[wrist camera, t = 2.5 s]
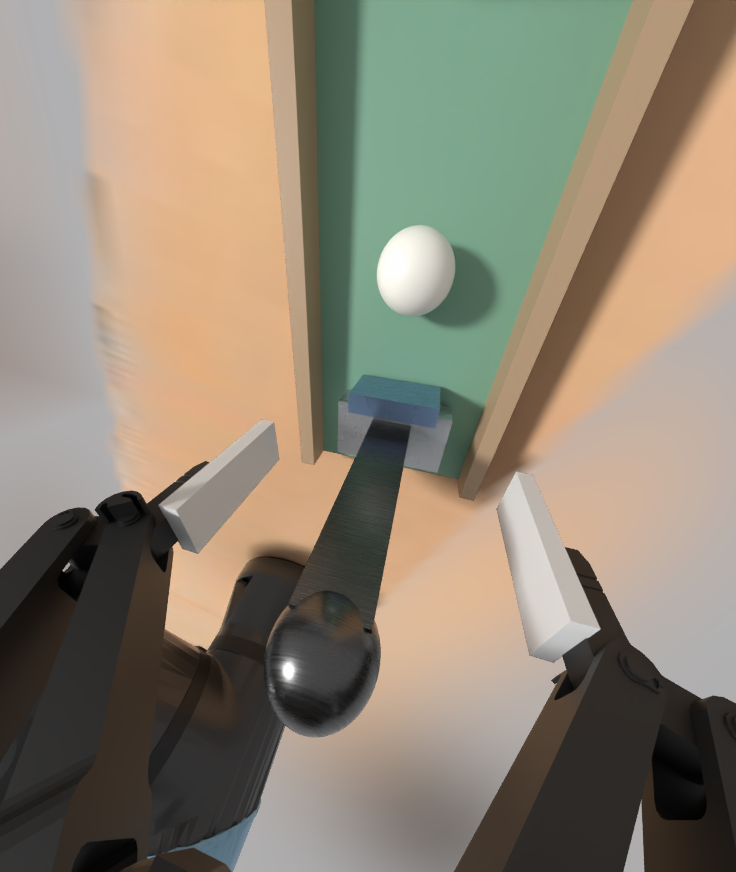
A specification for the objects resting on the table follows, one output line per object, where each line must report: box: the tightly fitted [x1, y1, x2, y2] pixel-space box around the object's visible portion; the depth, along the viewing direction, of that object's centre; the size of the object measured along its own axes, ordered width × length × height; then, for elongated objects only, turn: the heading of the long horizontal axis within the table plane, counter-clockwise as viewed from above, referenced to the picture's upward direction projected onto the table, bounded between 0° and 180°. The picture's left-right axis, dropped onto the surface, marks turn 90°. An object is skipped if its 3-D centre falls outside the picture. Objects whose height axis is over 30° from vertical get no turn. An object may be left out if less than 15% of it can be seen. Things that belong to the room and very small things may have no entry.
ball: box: [377, 225, 455, 317], centre depth 12 cm, size 4×4×4 cm
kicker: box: [264, 374, 453, 737], centre depth 12 cm, size 5×7×15 cm
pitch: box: [264, 0, 694, 501], centre depth 12 cm, size 30×13×3 cm, turn 175°
